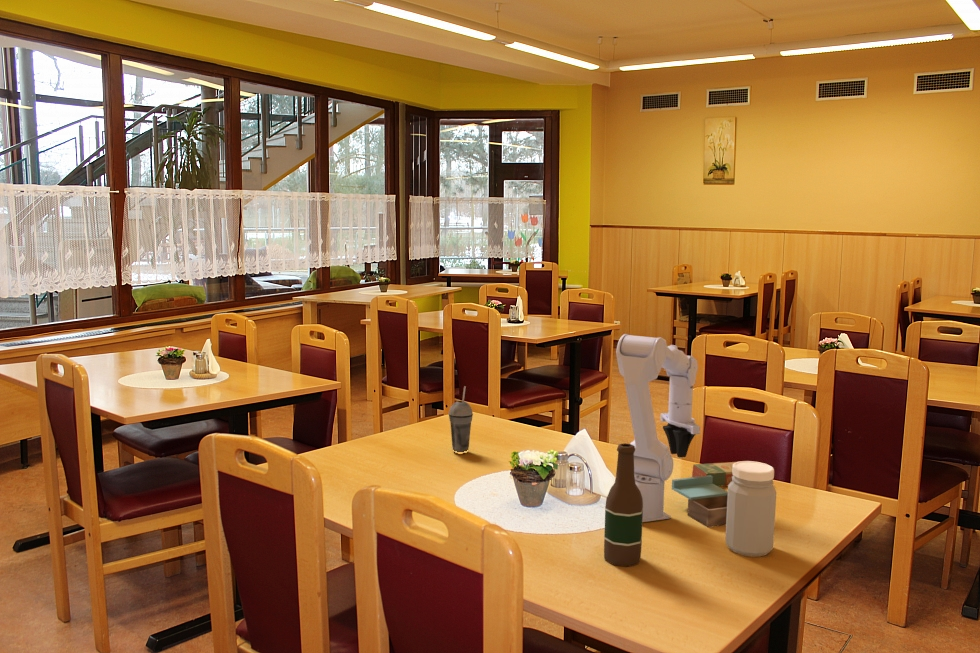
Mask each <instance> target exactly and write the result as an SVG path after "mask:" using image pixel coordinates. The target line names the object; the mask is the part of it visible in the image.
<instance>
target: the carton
mask: <svg viewBox="0 0 980 653" xmlns="http://www.w3.org/2000/svg"><path fill="white" fill-rule="evenodd" d="M736 462H737V461H732V462H731V461H730V462H713V463H712V462H711V463H698V464H696V463H694V464H693V466H692V472H691V477H699V476H708V475H711V476H713V481H712V484H714V485H716V486H718V487H723V486H724V487H725V486H727V487H728V485H729V484H730V482H731V481H732V476H734V475H733V473H732V466H733V464H734V463H736Z"/></svg>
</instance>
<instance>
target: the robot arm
mask: <svg viewBox="0 0 980 653" xmlns="http://www.w3.org/2000/svg"><path fill="white" fill-rule="evenodd" d="M678 348H679V347H678V346H677V345H674V344H670V345H668V344H667V340H666V339H664V338H663V337H661V336H660V337H651V336H642V335H630V334H629V333H624V334H622V335H621V336H620V338H619V340H618V342H617V345H616V349H615V350H616V351H615V355H616V361H617V366H618V371H619V375H621V376H622V377H623V379H624V380H623V382H624V387H625V392H626V398H627V404H628V409H629V414H630V420H631V426H632V431H633V436H634V439H633V441H631V442H630V443H629V444H631V445H634V446H635V452H634V477H635V484H636V485H637V487H638V489H639V490H640V492H641V495H642V498H643V518H642V523H648V522H653V521H661V520H663V521H664V520H669V519H671V518H672V516H671V515H670V514H668V513H667V512H664V506H665V502H664V501H665V481H667V480H669V478H670V477H671V476H672V474H673V470H674V458H673V456H672V455H676V456H677V458H679V459H680V458H686V457H687V455H688V452H689V448H690V445H691V443H692V440H693V439H694V438H695V436H696V435H700V434H701V432H700V431H701V430H700V429H701V426H700V425H699V424H697V423H696V419H695V418H693V416H692V414H693V394H694V385H695V384H696V377H697V374H698V370H699V369H698V368H699V365H698V360H697V358H695V357H694V356H693V355H687V354H686V353H685V352H684V351H683V350H680V349H678ZM662 369H664V370H665V372H666V376H667V377H669V387H668V388H669V390H668V392H669V393H668V412H663V413H661V412H660V419H659V420H660V422H666V423H667V425H666V424H665V425H662V429H663V431H664V434H665V435H666V439H667V442H668V443H667V444H668V446H667V445H666V444H665V443H664V442H663V441H661V440H660V439H659V437H658V433H657V427H656V422H655V414H654V408H653V403H652V395H651V390H650V384H649V383H650V382H652V381H654V380H656V379H658V376H659V374H660V373H661V371H662Z"/></svg>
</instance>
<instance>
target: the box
mask: <svg viewBox="0 0 980 653" xmlns="http://www.w3.org/2000/svg"><path fill="white" fill-rule="evenodd" d="M727 499H728V495H726V496H718V497H710V498H702V499H694V500H690V499H688V498H687V516H688V517H689V518H692V519H693V520H695V521H696V522H698V523H699V524H701V525H703V526H704V527H707V528H714V527H720V526H726V518H727Z"/></svg>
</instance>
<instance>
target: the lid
mask: <svg viewBox="0 0 980 653" xmlns="http://www.w3.org/2000/svg"><path fill="white" fill-rule="evenodd" d="M712 481H713V476H711V475H708V476H699V477H692V476H691V477H685V478H684V477H682V478H673V479H671V490H673V491H674V492H675V493H678V494H680V495H681V496H682V497H685V498H687V500H688V499H690V500H694V499H702V498H710V497H718V496H726V495H728V490H726V489H724V488H722V487H721V486H716V485H714V484H712Z"/></svg>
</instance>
